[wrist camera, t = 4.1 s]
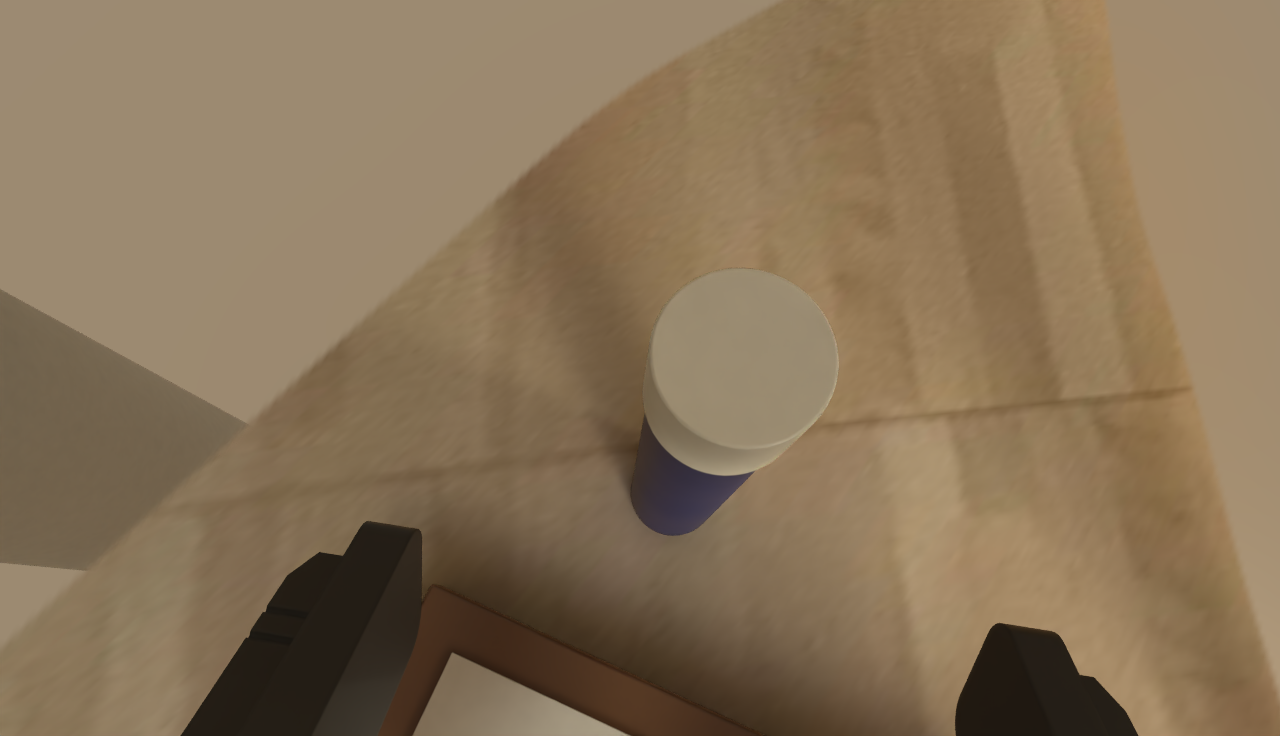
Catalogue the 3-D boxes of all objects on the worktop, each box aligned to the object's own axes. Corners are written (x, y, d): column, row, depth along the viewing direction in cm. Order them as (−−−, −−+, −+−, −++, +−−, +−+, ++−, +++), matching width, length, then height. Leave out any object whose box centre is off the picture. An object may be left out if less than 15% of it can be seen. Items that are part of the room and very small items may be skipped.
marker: (612, 516, 22) (617, 401, 10) (648, 434, 22) (692, 238, 11) (697, 555, 22) (800, 481, 10) (732, 470, 22) (865, 310, 11)
